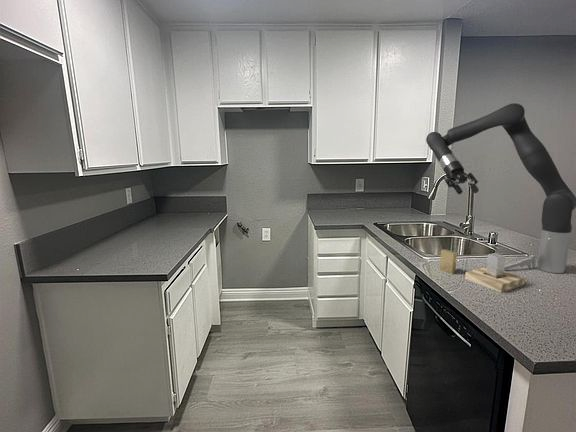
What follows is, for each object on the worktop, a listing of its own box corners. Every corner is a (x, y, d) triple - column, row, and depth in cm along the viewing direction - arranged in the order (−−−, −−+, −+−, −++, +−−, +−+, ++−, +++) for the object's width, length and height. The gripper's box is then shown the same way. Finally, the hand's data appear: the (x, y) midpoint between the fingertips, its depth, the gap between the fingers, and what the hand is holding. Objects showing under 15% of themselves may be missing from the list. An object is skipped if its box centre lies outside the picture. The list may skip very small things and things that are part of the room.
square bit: (492, 279, 123) (495, 253, 121) (502, 283, 119) (505, 256, 117) (485, 280, 122) (488, 254, 120) (494, 284, 118) (497, 257, 116)
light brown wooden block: (442, 268, 135) (444, 249, 134) (455, 273, 130) (456, 253, 128) (439, 269, 135) (441, 249, 133) (451, 274, 129) (453, 253, 127)
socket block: (487, 272, 129) (488, 266, 129) (524, 284, 117) (525, 277, 116) (465, 279, 124) (465, 272, 123) (501, 292, 111) (501, 284, 111)
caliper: (532, 268, 134) (534, 254, 133) (534, 268, 133) (536, 255, 132) (491, 272, 131) (493, 258, 130) (493, 273, 130) (495, 258, 129)
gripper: (458, 170, 149) (476, 197, 140) (433, 171, 145) (450, 198, 137) (468, 159, 143) (487, 186, 134) (442, 160, 139) (460, 188, 130)
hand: (468, 192), depth 135 cm, fingers open, 8 cm apart
